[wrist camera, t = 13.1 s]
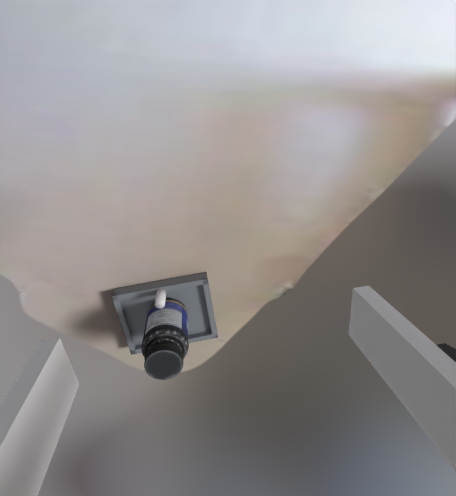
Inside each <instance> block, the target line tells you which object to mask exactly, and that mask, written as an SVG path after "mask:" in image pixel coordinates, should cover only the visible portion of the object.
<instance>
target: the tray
mask: <svg viewBox="0 0 456 496" xmlns="http://www.w3.org/2000/svg"><path fill="white" fill-rule="evenodd" d="M111 297H112V300H113V303H114V306H115V309H116V312H117V315H118V317H119V320H120V323H121V326H122V329H123V332H124V335H125V338H126V341H127V344H128V347H129V350H130V353H131V355H132V354H137V353H142V350H141V347H142V341H143V336H144V330H145V325H146V320H147V314H148V311H149V309H150V307H151V305H152V304H153V303H154V302H155V306H156V307H157V308H159V309H161V308H163V307H164V306H165V301H166V298H173V299H177V300H179V301H181V302H182V303H183V304H184V306H185V308H186V310H187V313H188V343H192V342H197V341H202V340H207V339H212V338H217V337H218V335H217V329H216V323H215V318H214V312H213V307H212V301H211V295H210V290H209V284H208V279H207V273H206V272H204V273H198V274H193V275H187V276H182V277H176V278H171V279H165V280H160V281H154V282H149V283H143V284H138V285H132V286H127V287H121V288H116V289H114V291H113V294H112V296H111Z"/></svg>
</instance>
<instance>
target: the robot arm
mask: <svg viewBox="0 0 456 496" xmlns="http://www.w3.org/2000/svg"><path fill="white" fill-rule="evenodd" d="M349 336H350V337H351V338H352V340H353V341H354V342H355V343H356V345H357V346H358V347H359V349H360V350H361V351H362V352H363V353H364V355H365V356H366V357H367V359H368V360H369V361H370V363H371V364H372V365H373V366H374V368H375V369H376V370H377V372H378V373H379V374H380V375H381V377H382V378H383V379H384V380H385V382H386V383H387V384H388V385H389V387H390V388H391V389H392V391H393V392H394V393H395V394H396V396H397V397H398V398H399V399H400V401H401V402H402V403H403V405H404V406H405V407H406V409H407V410H408V411H409V412H410V414H411V415H412V416H413V417H414V419H415V420H416V421H417V422H418V424H419V425H420V426H421V428H422V429H423V430H424V431H425V433H426V434H427V435H428V437H429V438H430V439H431V440H432V441H433V443H434V444H435V445H436V447H437V448H438V449H439V451H440V452H441V453H442V454H443V456H444V457H445V458H446V459H447V461H448V462H449V463H450V465H451V466H452V467H453V468H454V470H455V471H456V349H454V348H452V347H451V346H449V345H447V344H445V343H444V344H439V345H435V344H434V343H433V342H432V341H431V340H430V339H428V338H427V337H426V336H425V335H424V334H423V333H421V331H419V330H418V329H417V328H416V327H415V326H414V325H413V324H411V323H410V322H409V321H408V320H407V319H406V318H404V317H403V316H402V315H401V314H400V313H399V312H398V311H397V310H396V309H394V308H393V307H392V306H391V305H390V304H389V303H388V302H386V301H385V300H384V299H383V298H382V297H381V296H380V295H379V294H377V293H376V292H375V291H374V290H373V289H372V288H371V287H369V286H364V287H358V288H353V295H352V305H351V316H350V326H349ZM78 387H79V383H78V380H77V378H76V376H75V373H74V371H73V368H72V366H71V364H70V361H69V359H68V357H67V354H66V352H65V350H64V347H63V345H62V342H61V340H60V338H55V339H49V340H43V341H40V343H39V344H38V346H37V348H36V349H35V351H34V353H33V354H32V356H31V357H30V359H29V361H28V362H27V363H26V365H25V367H24V368H23V370H22V371H21V373H20V375H19V377H18V378H17V380H16V381H15V383H14V384H13V386H12V388H11V389H10V391H9V392H8V394H7V396H6V397H5V399H4V400H3V402H2V404H1V405H0V496H37V495H38V493H39V490H40V488H41V485H42V482H43V479H44V477H45V474H46V471H47V469H48V466H49V463H50V461H51V458H52V455H53V453H54V450H55V448H56V445H57V442H58V440H59V437H60V434H61V432H62V429H63V426H64V424H65V421H66V418H67V415H68V413H69V410H70V408H71V405H72V402H73V400H74V397H75V394H76V391H77V389H78Z"/></svg>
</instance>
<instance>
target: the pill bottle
mask: <svg viewBox="0 0 456 496" xmlns="http://www.w3.org/2000/svg"><path fill="white" fill-rule="evenodd" d="M188 346H189V344H188V313H187V310H186V308H185V306H184V304H183V303H182V302H181V301H179V300H177V299H173V298H166V301H165V306H164V307H163V308H161V309H159V308H157V307H156V306H155V302H154V303H153V304H152V305H151V307H150V309H149V311H148V314H147V320H146V325H145V330H144V336H143V341H142V347H141V350H142V354H143V356H144V358H145V363H144V367H145V370H146V372H147V373H148V374H149V375H150V376H151V377H153V378H156V379H162V380H165V379H170V378H173V377H175V376H176V375H178V374H179V373H180V371H181V370H182V367H183V358H184V357H185V356H186V354H187V351H188Z"/></svg>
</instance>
